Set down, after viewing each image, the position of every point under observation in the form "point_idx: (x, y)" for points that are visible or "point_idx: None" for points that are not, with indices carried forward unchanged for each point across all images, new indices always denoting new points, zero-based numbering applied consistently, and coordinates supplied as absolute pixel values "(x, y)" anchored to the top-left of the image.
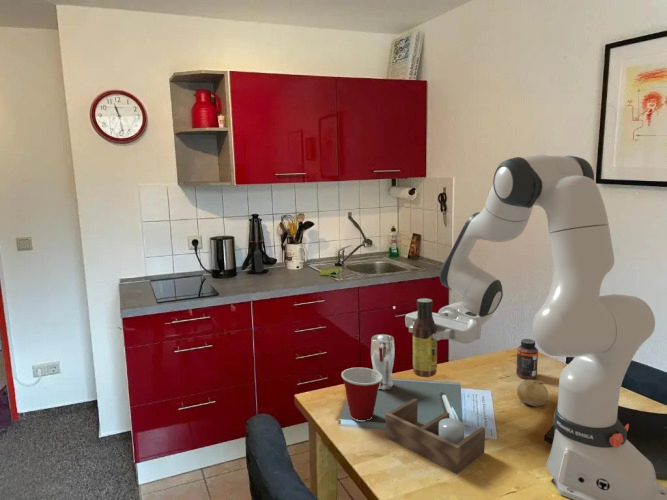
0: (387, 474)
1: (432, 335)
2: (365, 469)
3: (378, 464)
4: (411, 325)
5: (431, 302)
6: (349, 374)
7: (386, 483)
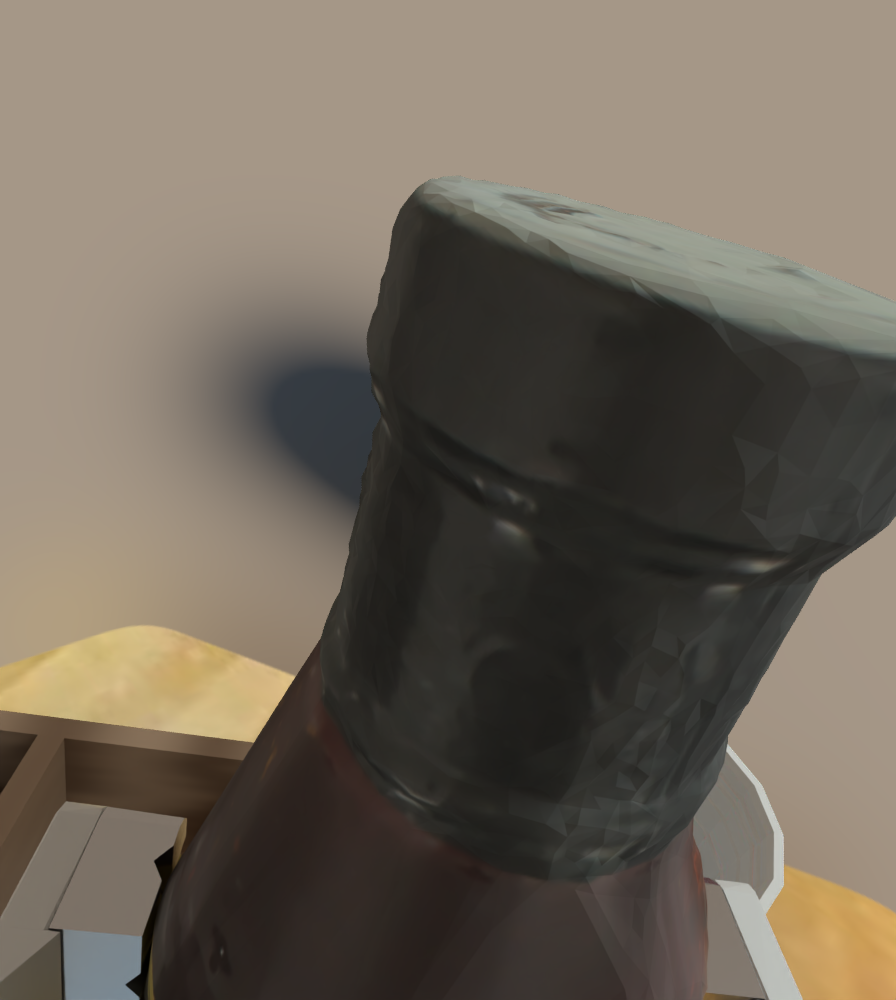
0: (159, 693)
1: (182, 835)
2: (248, 679)
3: (221, 718)
4: (763, 933)
5: (395, 221)
6: (738, 826)
7: (140, 660)
